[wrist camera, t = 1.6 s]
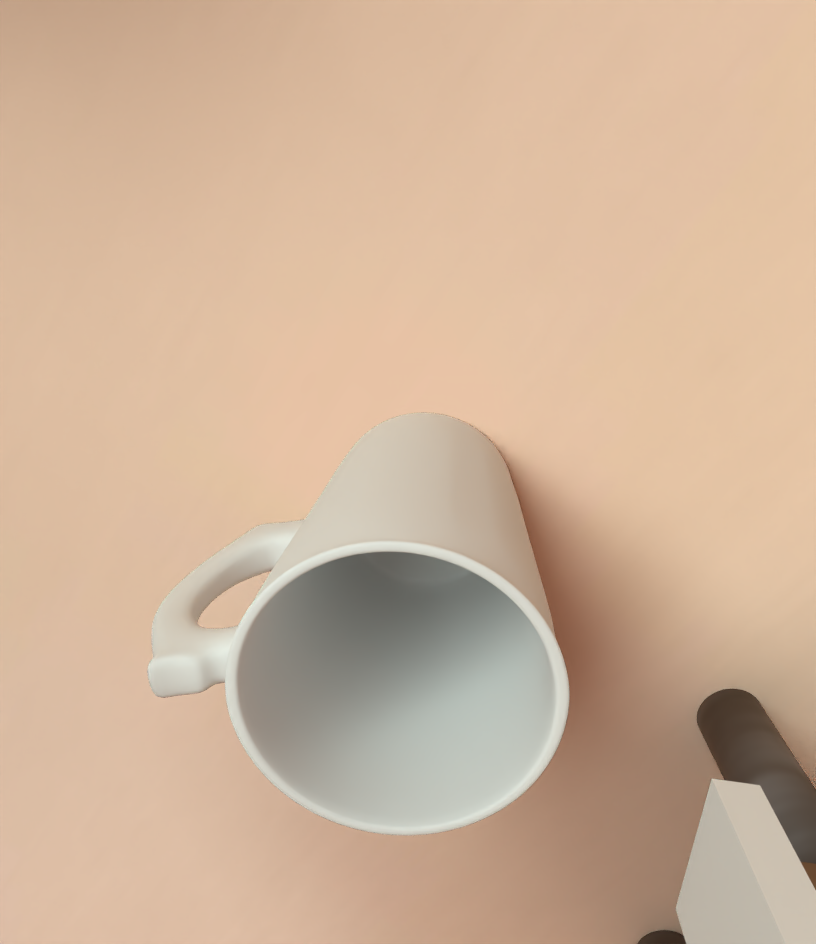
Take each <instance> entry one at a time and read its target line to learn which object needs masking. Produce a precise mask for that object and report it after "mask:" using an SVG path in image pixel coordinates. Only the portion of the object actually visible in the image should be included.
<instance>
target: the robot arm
mask: <svg viewBox="0 0 816 944" xmlns="http://www.w3.org/2000/svg"><path fill="white" fill-rule="evenodd" d="M676 912H677V915H678V919H679V922H680V925H681V928H682V932H683V935H684V938H685V942H686V944H816V890H815V888H814V886H813V884H812V883H811V881H810V879H809V877H808V875H807V873H806V871H805V869H804V867H803V866H802V864H801V862H800V860H799V858H798V856H797V854H796V852H795V850H794V849H793V847H792V845H791V843H790V841H789V839H788V837H787V835H786V833H785V832H784V830H783V828H782V826H781V824H780V822H779V820H778V818H777V816H776V815H775V813H774V811H773V809H772V807H771V805H770V803H769V801H768V799H767V798H766V796H765V794H764V792H763V790H762V788H761V786H760V785H754V784H747V783H740V782H733V781H726V780H719V779H711V783H710V786H709V790H708V794H707V797H706V801H705V804H704V808H703V812H702V815H701V819H700V822H699V826H698V830H697V833H696V837H695V840H694V844H693V848H692V851H691V855H690V858H689V862H688V866H687V869H686V873H685V876H684V880H683V884H682V887H681V891H680V894H679V898H678V902H677V905H676Z"/></svg>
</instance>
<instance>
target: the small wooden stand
mask: <svg viewBox="0 0 816 944" xmlns="http://www.w3.org/2000/svg"><path fill="white" fill-rule="evenodd" d="M697 723H698V726H699V728H700V730H701V732H702V734H703V737H704V739H705V741H706V743H707V745H708V747H709V749H710V751H711V753H712V755H713V757H714V759H715V761H716V763H717V765H718V767H719V769H720V771H721V773H722V775H723V777H724V780H726V781H733V782H740V783H747V784H754V785H760V786H761V788H762V790H763V792H764V794H765V796H766V798H767V799H768V801H769V803H770V805H771V807H772V809H773V811H774V813H775V815H776V816H777V818H778V820H779V822H780V824H781V826H782V828H783V830H784V832H785V833H786V835H787V837H788V839H789V841H790V843H791V845H792V847H793V849H794V850H795V852H796V854H797V856H798V858H799V860H800V862H801V864H802V866H803V867H804V869H805V871H806V873H807V875H808V877H809V879H810V881H811V883H812V884H813V886H814V888H815V890H816V789H815V788H814V786H813V785H812V783H811V782H810V780H809V779H808V777H807V776H806V774H805V772H804V771H803V769H802V768H801V766H800V765H799V763H798V762H797V760H796V759H795V757H794V755H793V754H792V752H791V751H790V749H789V748H788V746H787V745H786V743H785V741H784V740H783V738H782V737H781V735H780V734H779V732H778V731H777V729H776V728H775V726H774V724H773V723H772V721H771V720H770V718H769V717H768V715H767V714H766V712H765V711H764V709H763V707H762V706H761V704H760V703H759V701H758V700H757V699H756V698H755V697H754V696H753V695H751V694H750V693H748V692H746V691H743V690H738V689H727V690H722V691H719V692H716V693H714V694H712V695H711V696H709V697H708V698H707V699H705V700H704V702H703V703H702V704H701V706H700V708H699V710H698V713H697ZM638 944H686V942H685V938H684V936H683V935H681V934H679V933H677V932H673V931H656V932H653V933H650V934H648V935H646V936H644V937H643V938H642V939H641V940H640V941H639V942H638Z"/></svg>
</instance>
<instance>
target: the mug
mask: <svg viewBox="0 0 816 944" xmlns="http://www.w3.org/2000/svg"><path fill="white" fill-rule="evenodd" d="M269 571H271V572H270V574H269V576H268V577H267V579H266V580H265V582H264V584H263V585H262V587H261V589H260V590H259V592H258V594H257V596H256V597H255V599H254V601H253V603H252V604H251V605H250V607H249V608H248V610H247V611H246V613H245V614H244V616H243V618H242V620H241V622H240V623H239V625H237V626H234V627H228V628H220V629H215V628H204V627H201V626H199V625H198V624H197V622H198V619H199V617H200V615H201V614H202V612H203V611H204V610H205V608H206V607H207V606H208V605H209V604H210V603H211V602H212V601H213V600H214V599H215V598H217V597H218V596H219V595H220V594H222V593H223V592H225V591H226V590H228V589H229V588H231V587H233V586H234V585H236V584H238V583H240V582H242V581H244V580H247V579H249V578H252V577H254V576H257V575H259V574H262V573H265V572H269ZM152 650H153V659H152V660H151V661H150V663H149V665H148V671H147V672H148V679H149V683H150V686H151V689H152V691H153V692H154V694H155V695H156V696H158V697H163V698H166V697H173V696H178V695H188V694H195V693H200V692H203V691H205V690H207V689H208V688H209V687H211V686H213V685H215V684H219V683H225V693H226V701H227V707H228V711H229V715H230V718H231V721H232V724H233V727H234V729H235V731H236V734H237V736H238V738H239V740H240V742H241V744H242V745H243V747H244V749H245V751H246V752H247V754H248V755H249V757H250V758H251V760H252V761H253V762H254V764H255V765H256V766H257V767H258V769H259V770H260V771H261V772H262V773H263V774H264V775H265V777H266V778H267V779H268V780H269V781H270V782H271V783H272V784H274V785H275V786H276V787H277V788H278V789H279V790H280V791H281V792H283V793H284V794H285V795H287V796H288V797H289V798H291V799H292V800H293V801H295V802H296V803H298V804H299V805H301V806H303V807H304V808H306V809H308V810H309V811H311V812H313V813H315V814H317V815H319V816H321V817H323V818H325V819H328V820H330V821H333V822H335V823H338V824H341V825H344V826H347V827H350V828H354V829H358V830H362V831H366V832H372V833H378V834H387V835H425V834H434V833H440V832H445V831H450V830H454V829H457V828H461V827H464V826H467V825H470V824H473V823H475V822H478V821H480V820H482V819H485V818H487V817H489V816H491V815H493V814H495V813H496V812H498V811H500V810H501V809H503V808H505V807H506V806H508V805H509V804H511V803H512V802H513V801H515V800H516V799H517V798H518V797H520V796H521V795H522V794H523V793H524V792H525V791H526V790H528V789H529V788H530V787H531V786H532V784H533V783H534V782H535V781H536V780H537V779H538V778H539V777H540V775H541V774H542V773H543V771H544V770H545V769H546V767H547V766H548V764H549V763H550V761H551V759H552V758H553V756H554V754H555V752H556V750H557V748H558V746H559V743H560V741H561V738H562V736H563V733H564V729H565V726H566V721H567V717H568V710H569V697H570V693H569V680H568V674H567V669H566V665H565V662H564V658H563V655H562V652H561V650H560V647H559V645H558V642H557V640H556V637H555V632H554V627H553V622H552V617H551V613H550V609H549V605H548V602H547V598H546V595H545V591H544V588H543V584H542V581H541V578H540V574H539V571H538V567H537V564H536V560H535V557H534V553H533V550H532V546H531V543H530V539H529V536H528V532H527V529H526V525H525V522H524V518H523V514H522V511H521V507H520V503H519V500H518V497H517V493H516V491H515V488H514V485H513V482H512V479H511V476H510V473H509V470H508V467H507V465H506V463H505V461H504V459H503V457H502V456H501V454H500V452H499V451H498V450H497V448H496V447H495V446H494V445H493V443H492V442H491V441H490V440H489V439H488V438H487V437H486V436H485V435H483V434H482V433H481V432H480V431H478V430H477V429H476V428H474V427H472V426H471V425H469V424H467V423H465V422H463V421H461V420H459V419H456V418H453V417H450V416H447V415H442V414H436V413H411V414H405V415H401V416H397V417H394V418H391V419H389V420H386V421H384V422H382V423H380V424H378V425H377V426H375V427H374V428H372V429H371V430H369V431H368V432H367V433H366V434H364V435H363V436H362V437H361V438H360V439H359V440H358V441H357V442H356V443H355V445H354V446H353V447H352V448H351V450H350V451H349V452H348V454H347V455H346V456H345V458H344V459H343V461H342V462H341V463H340V465H339V466H338V468H337V469H336V471H335V473H334V474H333V476H332V477H331V479H330V481H329V482H328V484H327V485H326V487H325V489H324V490H323V492H322V493H321V495H320V497H319V498H318V500H317V501H316V503H315V504H314V506H313V507H312V509H311V510H310V512H309V514H308V515H307V517H306V518H305V519H303V520H298V521H291V522H281V523H267V524H262V525H258V526H256V527H255V528H253V529H251V530H249V531H248V532H247V533H245V534H244V535H242V536H241V537H239V538H238V539H236V540H235V541H233V542H232V543H230V544H229V545H227V546H226V547H225V548H223V549H222V550H220V551H219V552H217V553H216V554H214V555H213V556H212V557H210V558H209V559H207V560H206V561H205V562H203V563H202V564H201V565H200V566H198V567H197V568H196V569H195V570H193V571H192V572H191V573H190V574H189V575H187V576H186V577H185V578H184V579H183V580H182V581H181V582H179V583H178V584H177V585H176V586H175V587H174V588H173V589H172V590H171V592H170V593H169V594H168V595H167V596H166V597H165V599H164V600H163V602H162V603H161V605H160V606H159V608H158V610H157V612H156V615H155V617H154V621H153V625H152Z"/></svg>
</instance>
